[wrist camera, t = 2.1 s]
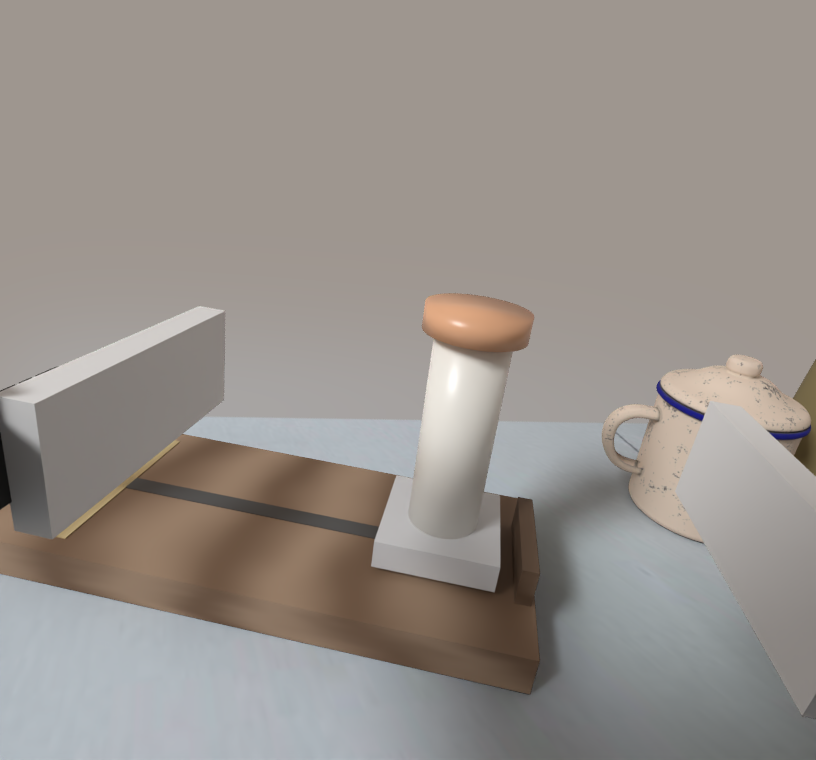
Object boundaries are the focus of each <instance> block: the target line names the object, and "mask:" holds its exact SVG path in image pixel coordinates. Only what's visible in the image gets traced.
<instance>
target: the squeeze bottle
mask: <svg viewBox="0 0 816 760" xmlns="http://www.w3.org/2000/svg"><path fill="white" fill-rule="evenodd" d="M793 399H794V400H795V401H797V402H798V403H800V404H801V405H802V406H803V407H804V408H805V409H806V410H807V411H808V413H809V415H810V418H811V431H810V433H809V434H808V435H807V436H805V437H803V438H802V439H801V441H800V443H799V446H798V448H797V450H796V452H795V454H794V457H795V458H796V459H797V460H799V461H800V462H801V463H802V464H803V465H804V466H805V467H806V468H807V469H808V470H809V471H810V472H811V473H812V474H813V475H815V476H816V360H815V362H814V363H813V365H812V367H811V368H810V370H809V372H808V374H807V375H806V377H805V379H804V380H803V382H802V384H801V385H800V387H799V389H798V391H797V392H796V394H795V396H794V398H793Z"/></svg>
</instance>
